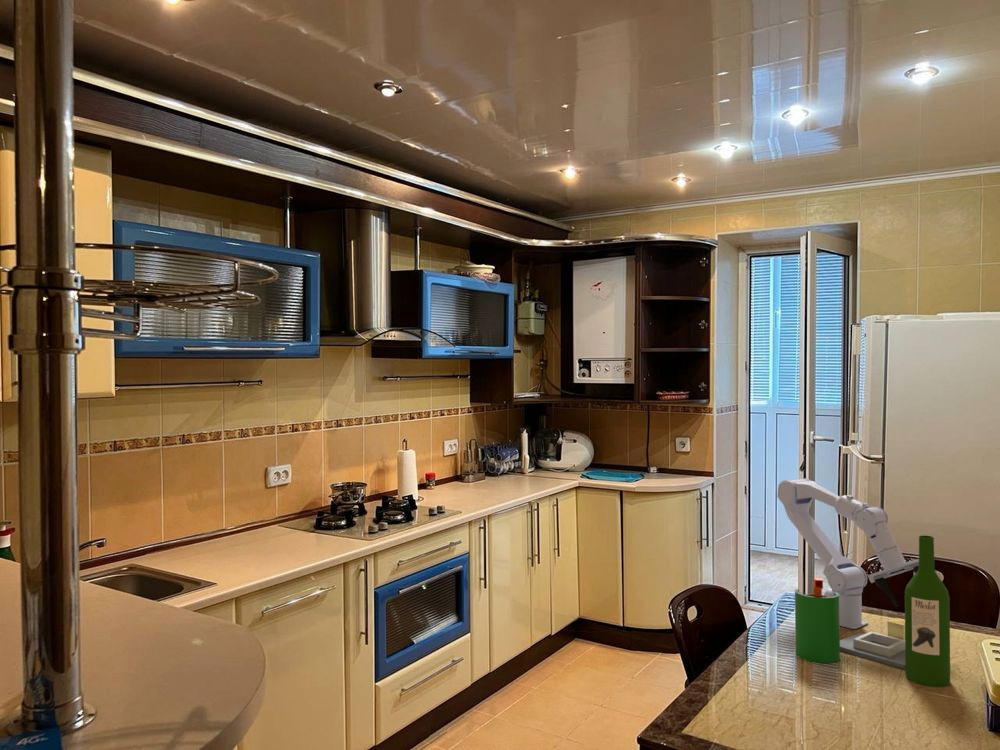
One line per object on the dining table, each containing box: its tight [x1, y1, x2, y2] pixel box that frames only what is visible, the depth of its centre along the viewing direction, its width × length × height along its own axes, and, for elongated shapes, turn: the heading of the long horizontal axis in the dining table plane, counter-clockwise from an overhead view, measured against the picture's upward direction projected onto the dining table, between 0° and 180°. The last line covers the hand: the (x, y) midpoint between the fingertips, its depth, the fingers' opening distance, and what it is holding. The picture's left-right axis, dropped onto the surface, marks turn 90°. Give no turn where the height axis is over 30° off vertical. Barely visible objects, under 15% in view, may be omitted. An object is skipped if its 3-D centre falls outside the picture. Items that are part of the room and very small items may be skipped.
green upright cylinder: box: [794, 576, 841, 664], centre depth 188 cm, size 10×9×20 cm
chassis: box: [840, 631, 905, 670], centre depth 191 cm, size 18×14×3 cm
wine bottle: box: [904, 535, 951, 688], centre depth 173 cm, size 9×9×32 cm
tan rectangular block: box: [887, 617, 905, 640], centre depth 197 cm, size 4×5×6 cm
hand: (912, 601), depth 196 cm, fingers open, 7 cm apart
